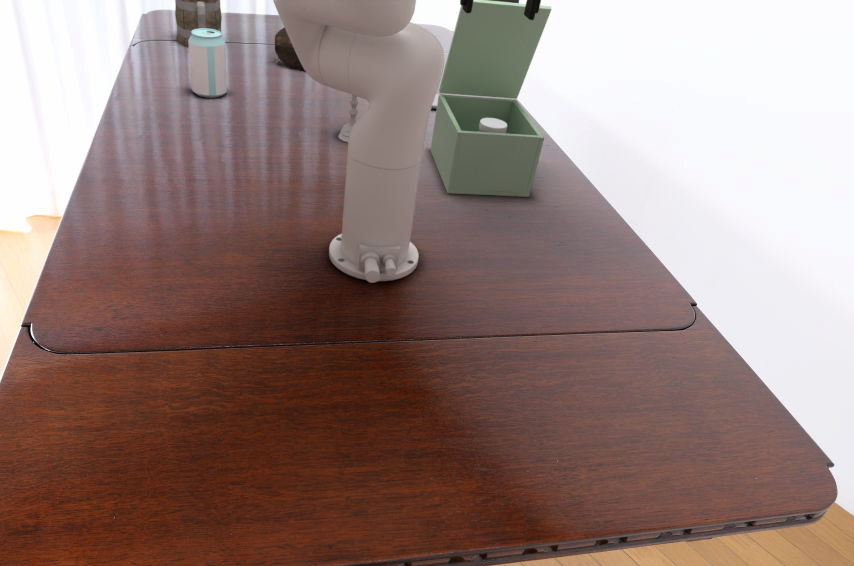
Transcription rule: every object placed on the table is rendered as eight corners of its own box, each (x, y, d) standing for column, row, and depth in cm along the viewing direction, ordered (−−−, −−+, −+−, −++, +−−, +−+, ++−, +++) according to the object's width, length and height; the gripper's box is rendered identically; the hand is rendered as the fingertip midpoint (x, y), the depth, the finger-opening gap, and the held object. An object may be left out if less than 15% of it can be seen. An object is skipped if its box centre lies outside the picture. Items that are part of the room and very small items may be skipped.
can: (189, 87, 141) (185, 26, 134) (224, 86, 144) (221, 27, 137) (194, 99, 136) (190, 37, 129) (229, 98, 139) (227, 37, 132)
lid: (551, 9, 109) (545, -12, 112) (463, 0, 106) (459, -21, 109) (517, 98, 124) (512, 78, 127) (439, 93, 122) (436, 72, 125)
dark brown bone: (303, 81, 158) (322, 61, 183) (327, 42, 154) (343, 27, 178) (263, 52, 156) (287, 36, 180) (287, 11, 151) (308, 1, 175)
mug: (175, 34, 170) (171, -18, 162) (220, 36, 173) (218, -15, 166) (179, 54, 158) (175, -2, 151) (227, 55, 161) (225, 1, 154)
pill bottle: (461, 177, 119) (471, 122, 113) (473, 167, 123) (484, 113, 117) (491, 187, 117) (503, 131, 111) (502, 176, 121) (514, 122, 115)
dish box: (529, 197, 117) (544, 137, 111) (447, 193, 115) (457, 132, 109) (504, 154, 131) (516, 99, 125) (430, 150, 129) (438, 94, 123)
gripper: (468, -128, 87) (445, 14, 97) (594, -110, 90) (560, 26, 100) (456, -132, 93) (436, 3, 103) (575, -115, 96) (545, 14, 106)
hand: (497, 14), depth 101 cm, fingers open, 9 cm apart
